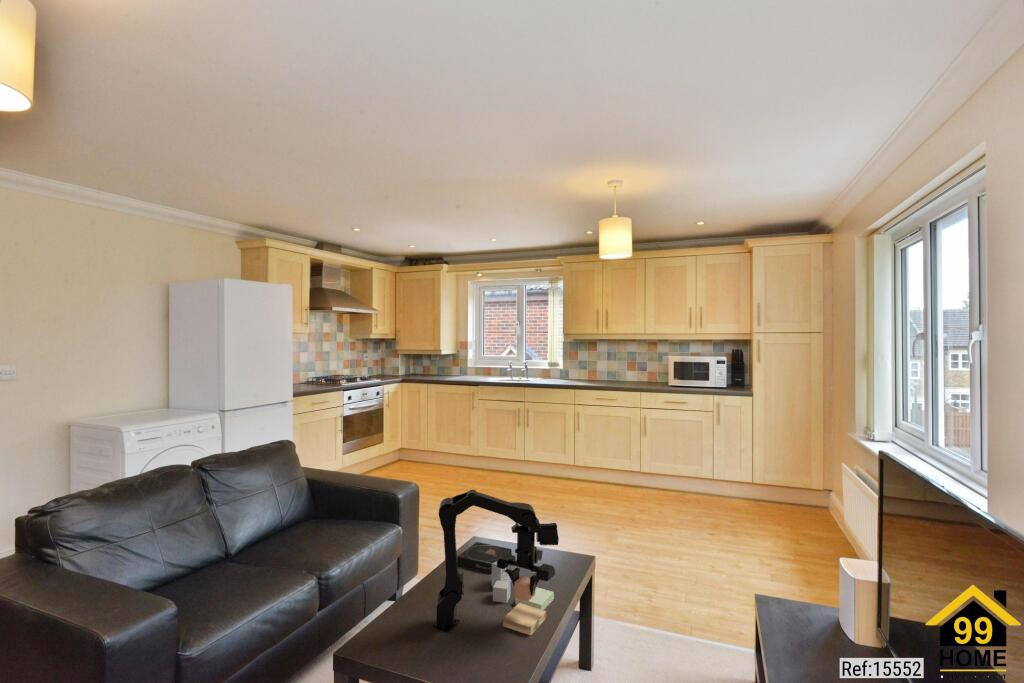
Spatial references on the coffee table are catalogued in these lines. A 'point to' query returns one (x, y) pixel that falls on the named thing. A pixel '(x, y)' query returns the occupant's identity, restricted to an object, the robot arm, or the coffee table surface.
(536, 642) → the coffee table surface
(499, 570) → the medicine box
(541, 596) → the green slab
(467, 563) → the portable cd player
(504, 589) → the grey block
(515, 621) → the oak slab
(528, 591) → the terracotta block
